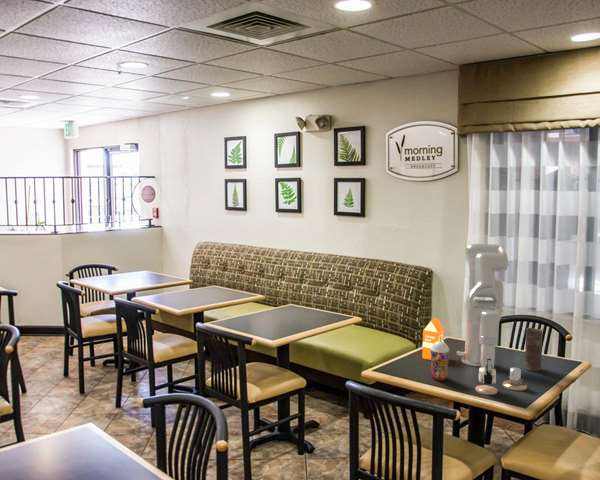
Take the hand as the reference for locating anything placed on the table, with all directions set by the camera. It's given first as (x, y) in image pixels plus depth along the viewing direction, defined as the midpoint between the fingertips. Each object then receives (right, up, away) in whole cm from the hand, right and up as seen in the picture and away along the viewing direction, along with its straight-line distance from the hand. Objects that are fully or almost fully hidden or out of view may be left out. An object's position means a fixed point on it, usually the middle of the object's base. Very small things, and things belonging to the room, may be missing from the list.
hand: (487, 380), depth 238 cm
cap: (0, 0, 0) cm, 0 cm away
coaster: (0, -5, +1) cm, 5 cm away
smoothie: (-17, -3, +15) cm, 23 cm away
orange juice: (-12, 0, +46) cm, 47 cm away
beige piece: (+14, -4, +6) cm, 16 cm away
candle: (+32, -2, +29) cm, 43 cm away
